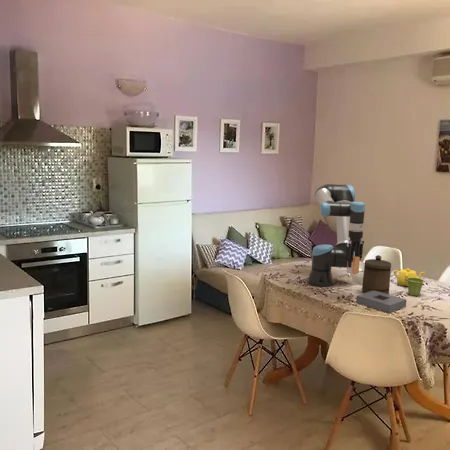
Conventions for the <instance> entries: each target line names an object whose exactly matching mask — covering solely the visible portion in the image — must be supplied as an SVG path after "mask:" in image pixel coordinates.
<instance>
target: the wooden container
mask: <svg viewBox="0 0 450 450" xmlns="http://www.w3.org/2000/svg"><path fill="white" fill-rule="evenodd" d="M391 270H392V262H390V261H388V260H385V259H383V258H382V256H381V255H376V256H375V258H374V259H373V258H372V259H370V258H369V259H366V260H364V267H363V277H362V286H361V292H362V294H363V293H367V292H370V291H373V290H375V291H378V292H382V293H385V294H389V295H390V288H391V287H390V284H391V273H392V272H391Z"/></svg>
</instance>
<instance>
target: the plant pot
mask: <svg viewBox="0 0 450 450" xmlns="http://www.w3.org/2000/svg"><path fill="white" fill-rule="evenodd" d="M407 282H408V286H407V293H408V295H410V296H412V297H413V296H414V297H415V296H417V297H418V296H420V294H421V291H422V287H423V285H424V282H425V279H422V278H421V279H419V278H407Z"/></svg>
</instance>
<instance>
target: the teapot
mask: <svg viewBox="0 0 450 450" xmlns="http://www.w3.org/2000/svg"><path fill="white" fill-rule="evenodd" d="M397 273H398V274H397ZM424 273H425V271H421V272H420V273H419V275H417V271H415V270H411V268H405V269H400V270H398V269H396V270H393V275H394V276H395V277H396V279H397V281H396V284H397V285H400V286H401V287H404V286H406V287H408V282H407V278H419V279H422V275H423V274H424Z"/></svg>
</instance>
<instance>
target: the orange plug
mask: <svg viewBox="0 0 450 450" xmlns="http://www.w3.org/2000/svg"><path fill="white" fill-rule="evenodd" d="M360 261H361V260H360V257H358V256H353V261H352V262H353V273H352V274H351V275H356V274H359V273H360ZM346 273H348V264H347V268H346ZM348 274H349V273H348Z"/></svg>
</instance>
